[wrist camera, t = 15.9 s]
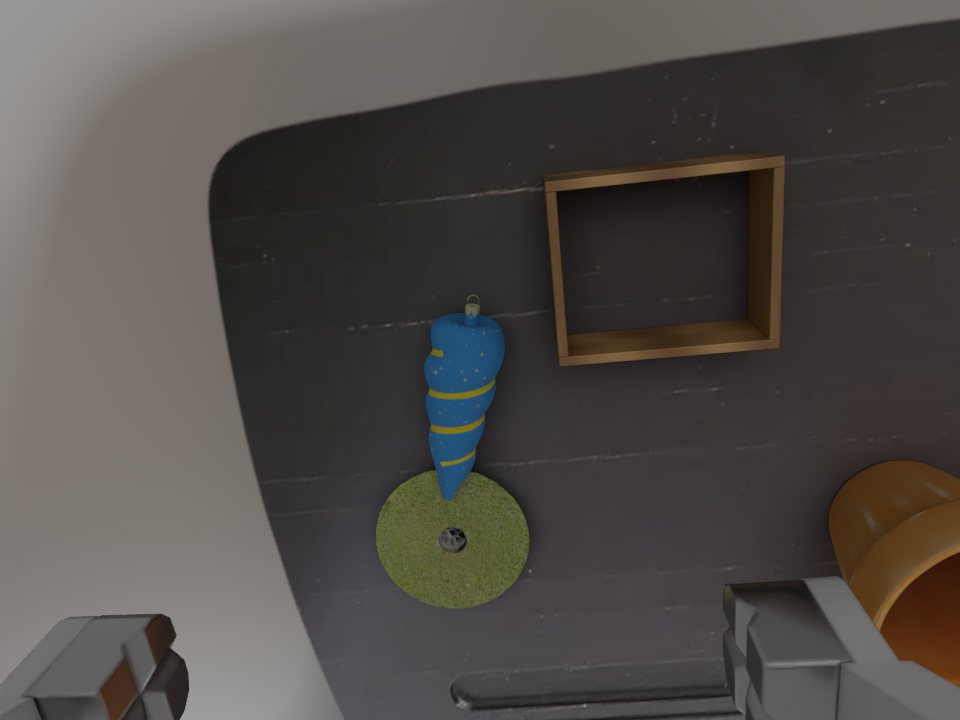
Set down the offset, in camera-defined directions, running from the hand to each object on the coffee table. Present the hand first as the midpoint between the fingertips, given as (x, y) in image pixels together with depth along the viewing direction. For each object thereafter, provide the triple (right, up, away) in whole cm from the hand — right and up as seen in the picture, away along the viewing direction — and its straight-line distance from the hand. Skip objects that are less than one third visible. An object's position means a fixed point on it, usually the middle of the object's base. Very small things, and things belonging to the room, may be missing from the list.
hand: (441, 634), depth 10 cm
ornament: (-2, -6, +39) cm, 40 cm away
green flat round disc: (-1, -9, +43) cm, 44 cm away
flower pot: (+30, -7, +40) cm, 51 cm away
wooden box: (+12, +11, +35) cm, 38 cm away
